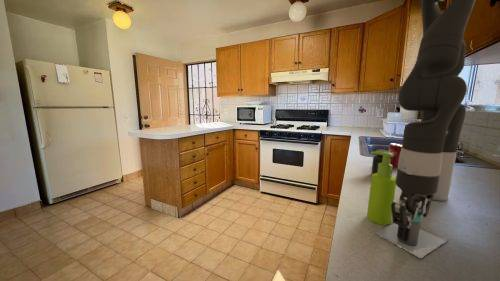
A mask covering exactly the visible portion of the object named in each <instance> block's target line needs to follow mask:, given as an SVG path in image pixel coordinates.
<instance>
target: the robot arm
mask: <svg viewBox="0 0 500 281" xmlns="http://www.w3.org/2000/svg"><path fill="white" fill-rule="evenodd" d="M443 1H444V0H420V8H421V18H422V19H421V20H422V38H421V40H420V42H419V43H420V44H419V48H418V52H417V57H416V61H415V64H414V66H413V68H412V70H411V71H410V73H409V74H408V76H407V77H406V79H405V81H404V82H403V84H402V85H401V88H400V90H399V92H398V97H397V98H398V104H399V106H400V107H401V108H402V109H403V110H404V111H410V112H418V111H419V112H421V116H420V121H413V122H410V123H407V124H406V125H405V127H404V130H403V137H402V143H401V144H402V149H401V153H400V156H399V162H398V169H396V177H395V178H396V187H398V188H399V189H400V190H401V193H400V196H399V199H398V200H399V201H398V202H394V201H393V202H392V204H391V209H392V215H391V219H392V224H394V223H395V224H397V225H398V232H397V237H398V238H399V239H401V240H403V241H405V242H407V241H409V236H410V229H411V224H412V221H413V219H416V217H417V214H419V215H421V216H422V220H421V223H422V222H423V220H424V218H427V217H428V214H429V210H430V207H431V204H432V202H433V201H439V202H440V201H441V202H442V201H445V202H446V201H447V200H448V199H449V195H450V190H451V185H452V178H453V173H454V168H455V162H456V159H457V158H456V157H457V153H458V147H459V143H460V142H459V141H460V136H461V132H462V128H463V125H464V122H465V118H466V110H467V109H466V106H465V104H464V103H463V101H464V99H465V97H466V94H467V91H468V85H467V83H466V81H465V80H464V78H463V77H461V76H459V75H460V74H461V73H462V71H463V69H464V67H465V62H466V61H465V60H466V50H467V44H466V42H465V40H464V36H465V30H466V27H467V24H468V21H469V18H470V16H471V14H472V11H473V8H474V5H475V2H476V0H452V2H450V4H449V5H448V7H446V8H445V10H444V11H441V9H440V6H439V2H443ZM407 211H408V212H410V213H412V214H409V213H407ZM407 218H408V221H407Z"/></svg>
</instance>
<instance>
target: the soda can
mask: <svg viewBox="0 0 500 281" xmlns="http://www.w3.org/2000/svg"><path fill="white" fill-rule="evenodd" d="M401 149H402V143H395V142H394V143H393V142H391V143H390V144H389V146H388V151H389V153H393V157H390V159H391V160H390V164H391V165H393V168H392V169H395V170H397V169H398V162H399V156H400V153H401Z"/></svg>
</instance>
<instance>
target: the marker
mask: <svg viewBox="0 0 500 281" xmlns="http://www.w3.org/2000/svg"><path fill="white" fill-rule="evenodd" d="M407 213H409V214H412V213H410V212H408V211H407ZM421 220H422V216H421V215H419V214H417V217H416V219H413V221H412V224H411V229H410V236H409V241H407V242H405V241H403V240H401V239H399V238H398V240H399V241H400V242H402V243H403V244H405V245H408V246H416V245H417V242H418V236H419V231H420V227H421V224H422V222H421ZM407 221H408V218H407Z"/></svg>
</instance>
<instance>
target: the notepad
mask: <svg viewBox="0 0 500 281" xmlns="http://www.w3.org/2000/svg"><path fill="white" fill-rule="evenodd" d="M397 232H398V225H397V224H395V223H392V224H389V225H387V226H385V227H384V228H381V229H379V230H377V231H375V235H376V234H378V235H380V236H382V237H383V238H386V239H387V240H389V241H391V242H393V243H395V244H397V245H399V246H401V247H402V248H405V249H406V250H408V251H411V252H413V251H414V250H416V249H417V250H419V249H420V248H421V249H422V248H426V247H427V248H428V245H429V247H431V245H434V247H435V245H436V247H437V245H438V246H439V245H440V244H442V243H443V242H445V241H446V240H448V241H449V239H448V238H447V237H444V236H442V235H440V234H437V233H436V232H433V231H431V230H429V229H427V228H424V227H422V226H420V231H419V236H418V242H417V245H416V246H408V245H405V244H403V243H402V242H400V241H399V240H398V237H397ZM378 235H377V236H378ZM380 236H379V237H380ZM383 238H382V239H383ZM387 240H386V241H387ZM417 250H416V251H417Z"/></svg>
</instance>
